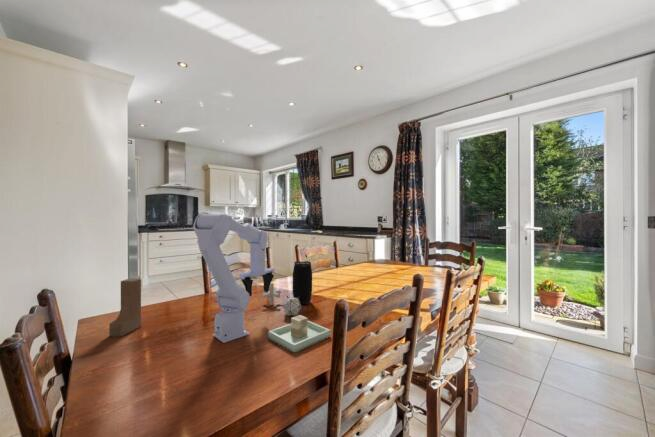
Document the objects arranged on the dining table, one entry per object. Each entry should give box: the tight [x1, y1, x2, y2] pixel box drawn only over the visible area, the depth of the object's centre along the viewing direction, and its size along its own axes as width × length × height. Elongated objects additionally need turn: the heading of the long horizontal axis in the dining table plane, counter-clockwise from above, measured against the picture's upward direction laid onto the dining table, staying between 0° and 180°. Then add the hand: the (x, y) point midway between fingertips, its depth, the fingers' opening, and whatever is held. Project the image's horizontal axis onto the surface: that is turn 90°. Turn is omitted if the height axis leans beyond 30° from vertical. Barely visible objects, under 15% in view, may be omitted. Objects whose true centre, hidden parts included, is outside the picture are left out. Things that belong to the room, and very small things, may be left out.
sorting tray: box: [267, 320, 332, 354], centre depth 95 cm, size 16×14×2 cm
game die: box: [280, 295, 304, 317], centre depth 116 cm, size 9×8×10 cm
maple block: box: [290, 314, 309, 339], centre depth 95 cm, size 4×4×6 cm
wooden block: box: [108, 277, 142, 338], centre depth 99 cm, size 9×4×18 cm, turn 173°
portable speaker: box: [292, 260, 313, 305], centre depth 133 cm, size 9×9×20 cm
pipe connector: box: [261, 282, 282, 306], centre depth 130 cm, size 10×10×10 cm
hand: (257, 293), depth 111 cm, fingers open, 7 cm apart
